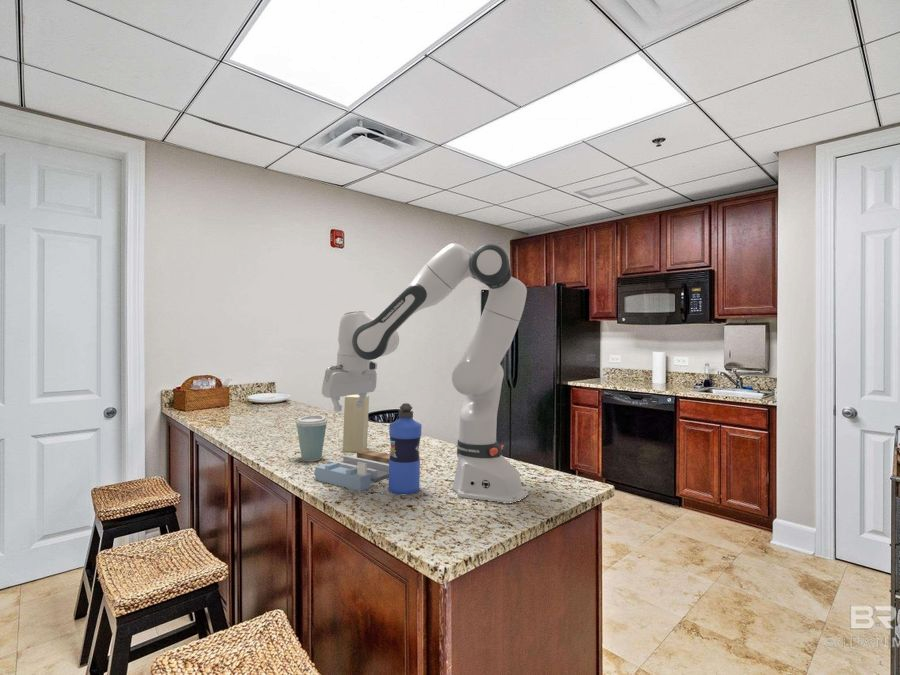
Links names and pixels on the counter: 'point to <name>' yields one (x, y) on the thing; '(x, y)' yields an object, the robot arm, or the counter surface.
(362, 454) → the brown long rectangular bar
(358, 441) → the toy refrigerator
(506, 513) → the counter surface
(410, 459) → the water bottle
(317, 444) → the disposable coffee cup
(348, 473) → the pale blue tabbed body
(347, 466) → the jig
